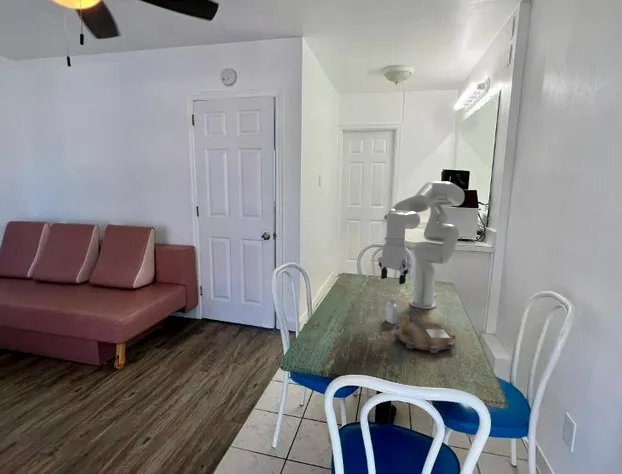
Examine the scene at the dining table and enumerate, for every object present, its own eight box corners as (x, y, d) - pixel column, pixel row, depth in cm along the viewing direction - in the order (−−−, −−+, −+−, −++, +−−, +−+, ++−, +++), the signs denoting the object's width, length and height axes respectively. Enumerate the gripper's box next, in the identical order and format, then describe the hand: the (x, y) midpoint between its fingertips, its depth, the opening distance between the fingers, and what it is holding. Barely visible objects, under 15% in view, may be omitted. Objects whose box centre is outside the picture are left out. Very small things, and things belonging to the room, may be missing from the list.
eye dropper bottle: (386, 323, 151) (387, 297, 149) (385, 318, 157) (386, 293, 155) (396, 324, 151) (398, 298, 149) (395, 319, 156) (397, 293, 154)
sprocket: (401, 352, 124) (403, 329, 122) (388, 325, 146) (389, 305, 145) (466, 353, 124) (468, 329, 122) (443, 325, 146) (444, 305, 145)
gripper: (373, 239, 152) (371, 277, 155) (406, 245, 138) (403, 287, 141) (385, 238, 156) (382, 275, 159) (418, 244, 143) (415, 284, 146)
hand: (392, 281), depth 150 cm, fingers open, 9 cm apart
